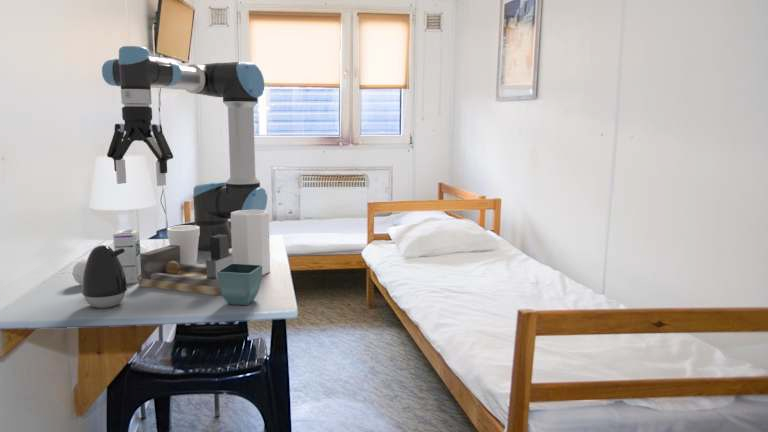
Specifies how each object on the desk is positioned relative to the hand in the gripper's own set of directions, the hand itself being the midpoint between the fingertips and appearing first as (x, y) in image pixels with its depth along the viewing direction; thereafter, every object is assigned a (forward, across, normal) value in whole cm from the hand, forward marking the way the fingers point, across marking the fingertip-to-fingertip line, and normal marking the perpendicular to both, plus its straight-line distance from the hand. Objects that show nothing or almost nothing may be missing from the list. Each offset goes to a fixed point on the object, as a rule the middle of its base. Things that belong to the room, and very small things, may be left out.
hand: (141, 184), depth 168 cm
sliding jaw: (+26, +22, +4) cm, 34 cm away
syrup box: (+28, -6, 0) cm, 29 cm away
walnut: (+24, +6, +4) cm, 25 cm away
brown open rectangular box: (+28, +13, +4) cm, 31 cm away
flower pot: (+28, +35, -6) cm, 45 cm away
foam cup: (+28, 0, +17) cm, 33 cm away
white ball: (+28, -15, -8) cm, 33 cm away
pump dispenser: (+28, +5, -20) cm, 35 cm away
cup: (+28, +21, +21) cm, 41 cm away
